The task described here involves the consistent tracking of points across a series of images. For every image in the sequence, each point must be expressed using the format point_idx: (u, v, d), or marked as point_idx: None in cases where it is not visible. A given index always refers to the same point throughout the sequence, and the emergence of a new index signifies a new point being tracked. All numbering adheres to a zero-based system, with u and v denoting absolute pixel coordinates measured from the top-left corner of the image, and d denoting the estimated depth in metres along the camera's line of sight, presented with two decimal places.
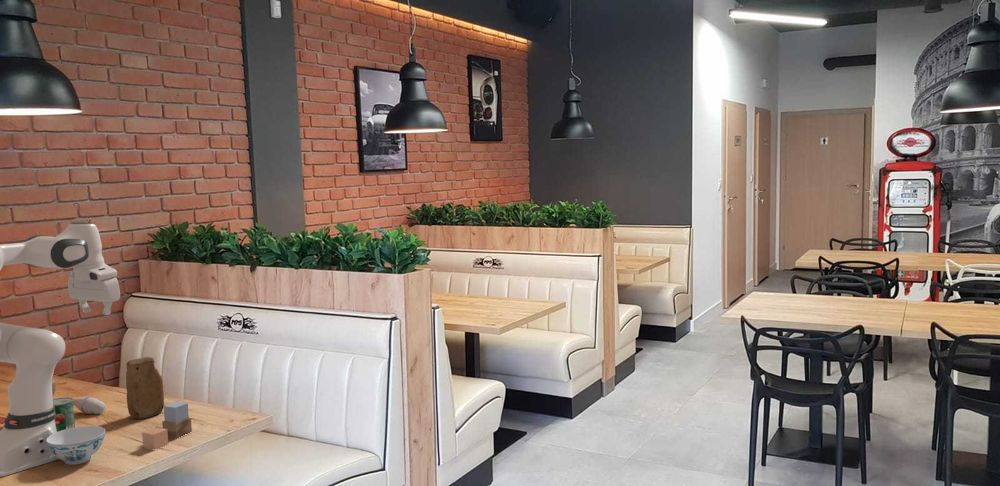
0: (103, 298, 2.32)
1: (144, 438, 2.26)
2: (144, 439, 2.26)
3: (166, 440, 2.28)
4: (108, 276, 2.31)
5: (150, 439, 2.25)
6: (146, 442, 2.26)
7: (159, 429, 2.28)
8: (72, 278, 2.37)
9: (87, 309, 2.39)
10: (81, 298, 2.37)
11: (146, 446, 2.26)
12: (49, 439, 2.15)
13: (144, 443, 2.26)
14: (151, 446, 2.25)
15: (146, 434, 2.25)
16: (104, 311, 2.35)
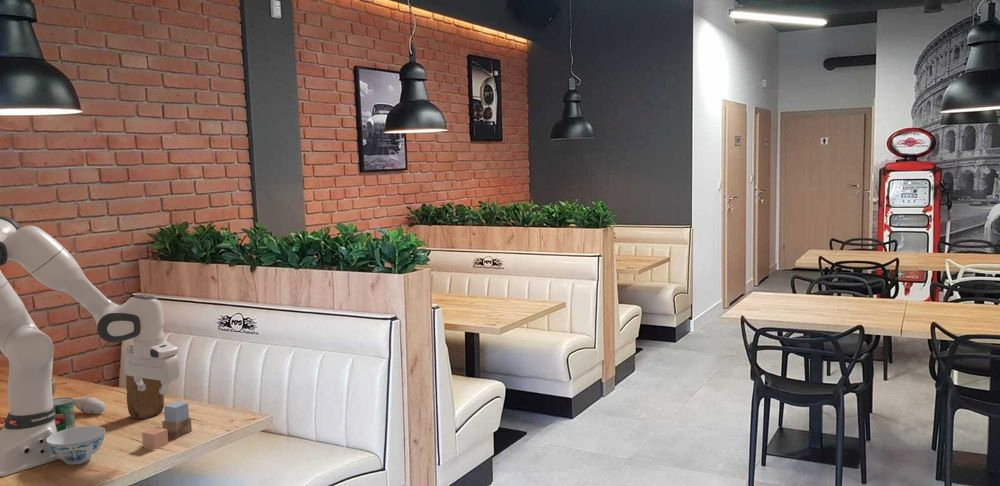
0: (161, 376, 2.21)
1: (144, 438, 2.26)
2: (144, 439, 2.26)
3: (166, 440, 2.28)
4: (169, 354, 2.21)
5: (150, 439, 2.25)
6: (146, 442, 2.26)
7: (159, 429, 2.28)
8: (130, 354, 2.26)
9: (142, 387, 2.27)
10: (137, 375, 2.26)
11: (146, 446, 2.26)
12: (49, 439, 2.15)
13: (144, 443, 2.26)
14: (151, 446, 2.25)
15: (146, 434, 2.25)
16: (161, 390, 2.23)
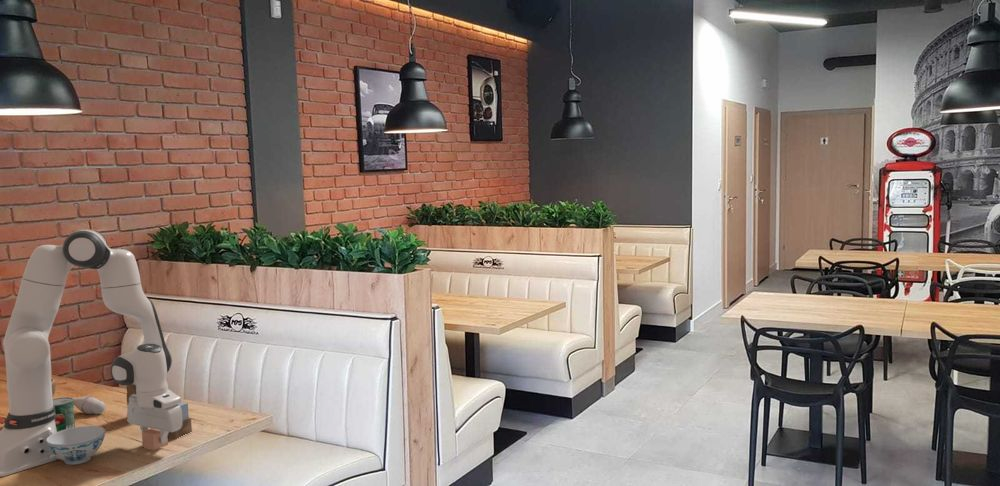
0: (164, 426, 2.23)
1: (144, 438, 2.26)
2: (144, 439, 2.26)
3: None
4: (172, 404, 2.22)
5: (150, 439, 2.25)
6: (146, 442, 2.26)
7: None
8: (133, 403, 2.28)
9: None
10: (140, 424, 2.27)
11: (146, 446, 2.26)
12: (49, 439, 2.15)
13: (144, 443, 2.26)
14: (150, 446, 2.25)
15: (146, 434, 2.25)
16: (160, 439, 2.25)
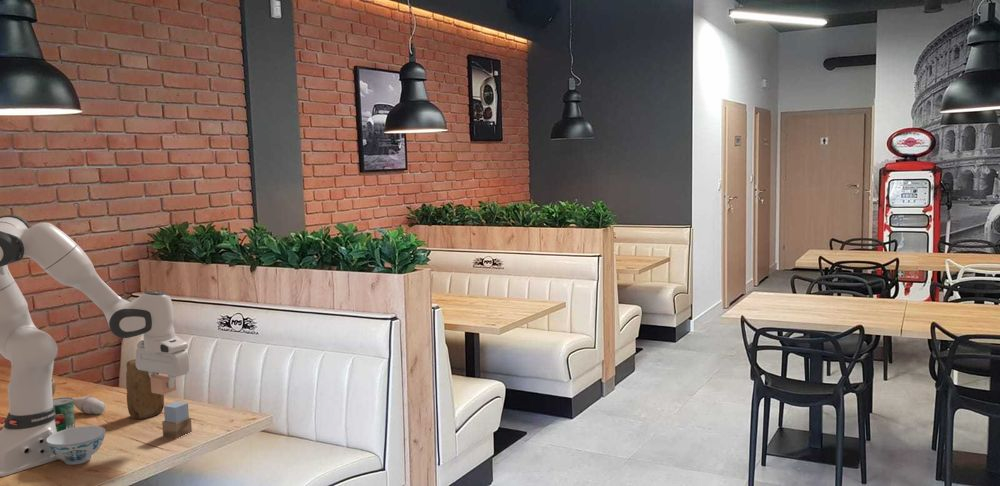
0: (172, 371, 2.25)
1: (152, 383, 2.28)
2: (152, 384, 2.28)
3: None
4: (179, 349, 2.24)
5: (158, 384, 2.27)
6: (154, 387, 2.28)
7: None
8: (141, 349, 2.30)
9: None
10: (148, 370, 2.30)
11: (154, 391, 2.28)
12: (49, 439, 2.15)
13: (152, 388, 2.29)
14: (159, 391, 2.27)
15: (154, 379, 2.28)
16: (168, 384, 2.28)
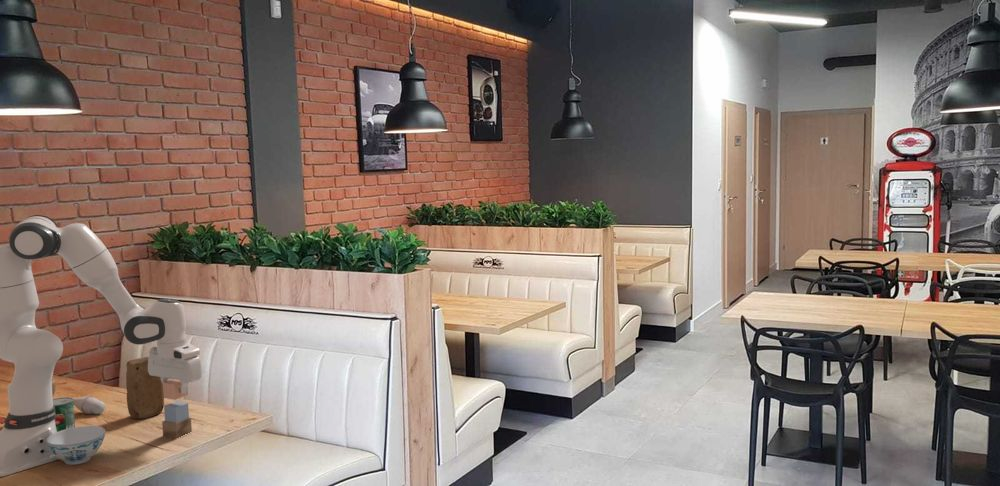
0: (184, 376, 2.31)
1: (165, 388, 2.35)
2: (165, 389, 2.35)
3: (186, 390, 2.37)
4: (192, 355, 2.31)
5: (171, 389, 2.33)
6: (167, 392, 2.34)
7: (179, 380, 2.37)
8: (153, 355, 2.36)
9: None
10: (161, 375, 2.36)
11: (167, 396, 2.35)
12: (49, 439, 2.15)
13: (165, 393, 2.35)
14: (171, 396, 2.34)
15: (167, 384, 2.34)
16: (180, 389, 2.34)
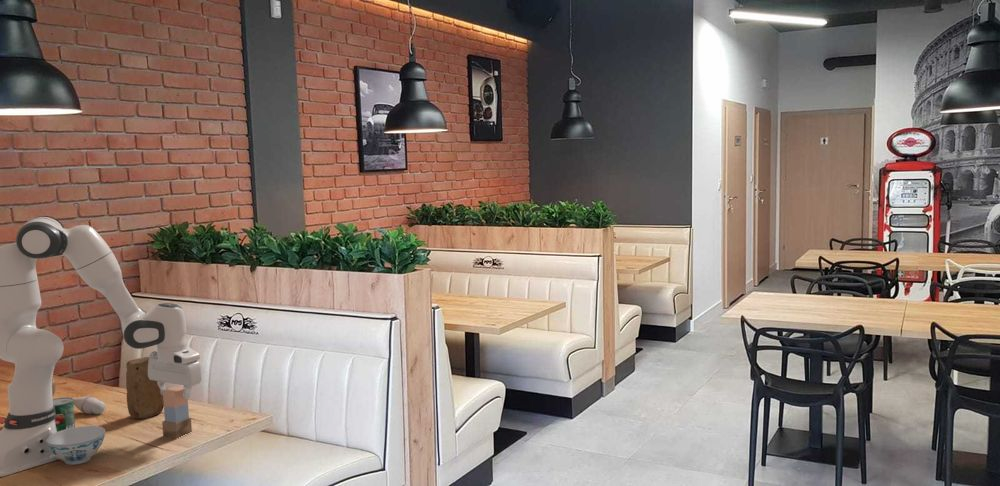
0: (184, 381, 2.31)
1: (165, 396, 2.35)
2: (165, 397, 2.35)
3: None
4: (192, 360, 2.31)
5: (171, 397, 2.34)
6: (167, 400, 2.35)
7: (179, 388, 2.37)
8: (153, 359, 2.36)
9: None
10: (161, 380, 2.36)
11: (167, 404, 2.35)
12: (49, 439, 2.15)
13: (165, 401, 2.35)
14: (171, 404, 2.34)
15: (167, 392, 2.34)
16: (183, 394, 2.33)
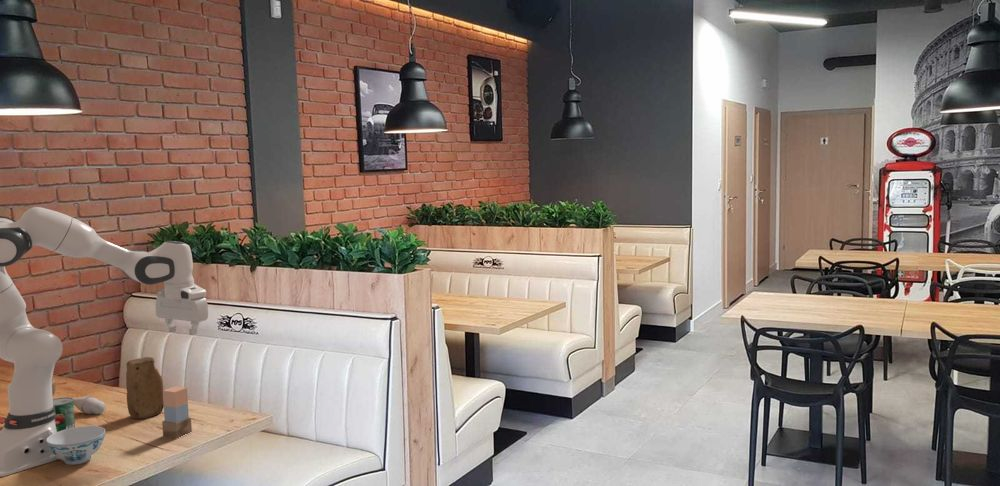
0: (191, 317, 2.34)
1: (165, 396, 2.35)
2: (165, 397, 2.35)
3: (186, 398, 2.37)
4: (198, 295, 2.33)
5: (171, 397, 2.34)
6: (167, 400, 2.34)
7: (179, 388, 2.37)
8: (161, 297, 2.39)
9: (173, 328, 2.40)
10: (168, 317, 2.38)
11: (167, 404, 2.35)
12: (49, 439, 2.15)
13: (165, 401, 2.35)
14: (172, 404, 2.34)
15: (167, 392, 2.34)
16: (191, 331, 2.36)
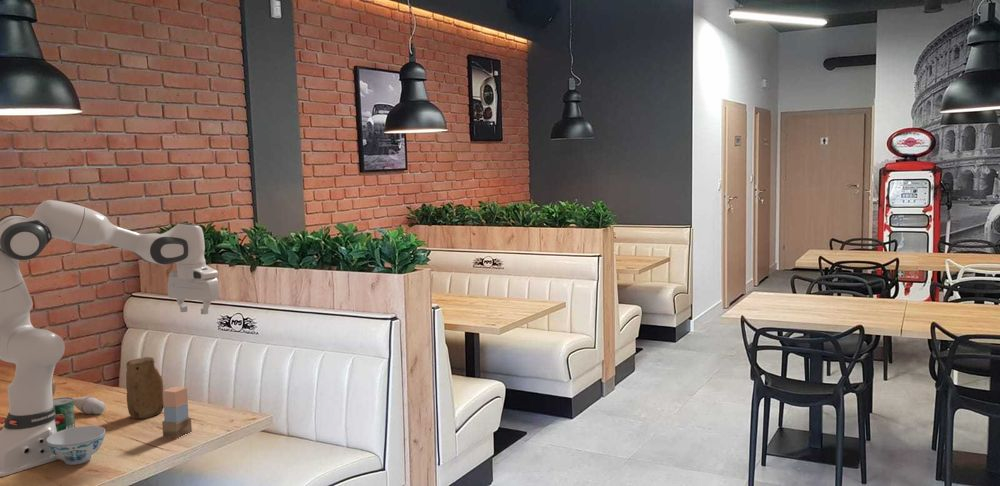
0: (203, 297, 2.41)
1: (165, 396, 2.34)
2: (165, 398, 2.34)
3: (186, 398, 2.37)
4: (210, 276, 2.40)
5: (171, 397, 2.33)
6: (167, 400, 2.34)
7: (179, 388, 2.37)
8: (173, 277, 2.46)
9: (184, 308, 2.47)
10: (180, 297, 2.45)
11: (167, 404, 2.34)
12: (49, 439, 2.15)
13: (165, 401, 2.35)
14: (172, 404, 2.34)
15: (167, 392, 2.34)
16: (202, 310, 2.43)
